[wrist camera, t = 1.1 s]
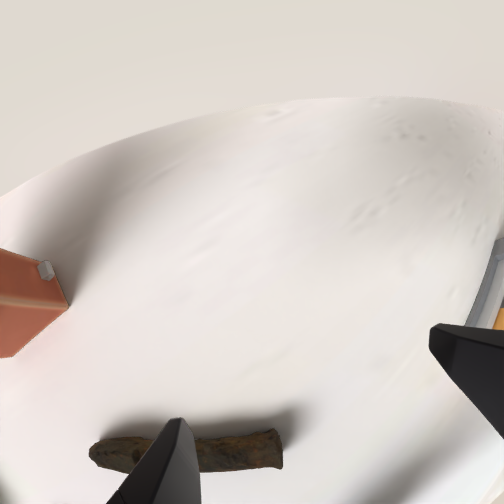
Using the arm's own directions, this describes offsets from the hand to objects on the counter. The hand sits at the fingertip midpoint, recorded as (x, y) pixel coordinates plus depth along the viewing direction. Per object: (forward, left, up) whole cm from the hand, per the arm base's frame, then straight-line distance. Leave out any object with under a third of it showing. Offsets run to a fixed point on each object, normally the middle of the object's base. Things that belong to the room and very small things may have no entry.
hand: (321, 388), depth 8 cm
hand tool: (-11, +9, -17) cm, 22 cm away
